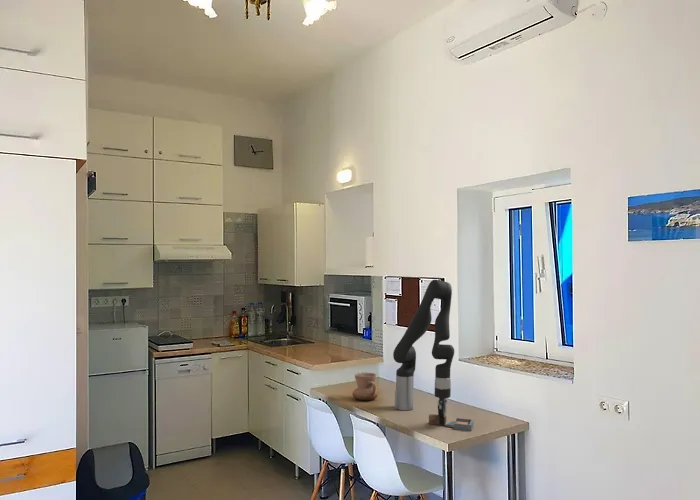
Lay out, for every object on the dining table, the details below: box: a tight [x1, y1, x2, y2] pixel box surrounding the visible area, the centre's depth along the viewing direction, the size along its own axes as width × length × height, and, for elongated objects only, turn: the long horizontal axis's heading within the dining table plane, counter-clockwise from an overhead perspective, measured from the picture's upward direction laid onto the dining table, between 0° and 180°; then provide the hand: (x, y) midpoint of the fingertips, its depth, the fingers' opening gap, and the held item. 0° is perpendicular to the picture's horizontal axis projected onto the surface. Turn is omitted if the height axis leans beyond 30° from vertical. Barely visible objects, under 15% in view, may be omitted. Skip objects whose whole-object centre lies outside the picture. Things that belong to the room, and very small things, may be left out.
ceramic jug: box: [351, 372, 379, 402], centre depth 309 cm, size 18×14×14 cm
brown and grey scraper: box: [428, 413, 457, 428], centre depth 259 cm, size 13×7×4 cm, turn 72°
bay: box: [453, 417, 475, 432], centre depth 256 cm, size 8×11×2 cm
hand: (442, 423), depth 259 cm, fingers closed on brown and grey scraper, 2 cm apart
